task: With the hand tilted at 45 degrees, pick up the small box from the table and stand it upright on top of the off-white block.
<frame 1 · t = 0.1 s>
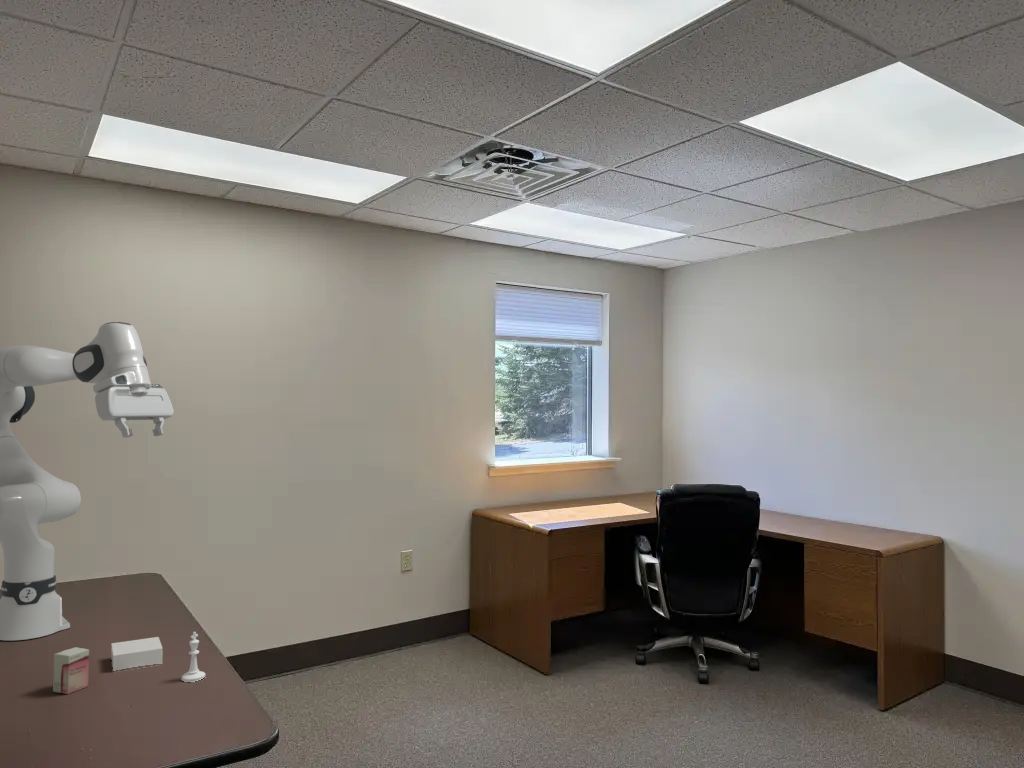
hand: (143, 436, 182), 52 cm above the table, tool tilted 20°, fingers open, 8 cm apart
small box: (70, 690, 154), on the table
chess piece: (193, 679, 161), on the table
off-white block: (136, 663, 171), on the table
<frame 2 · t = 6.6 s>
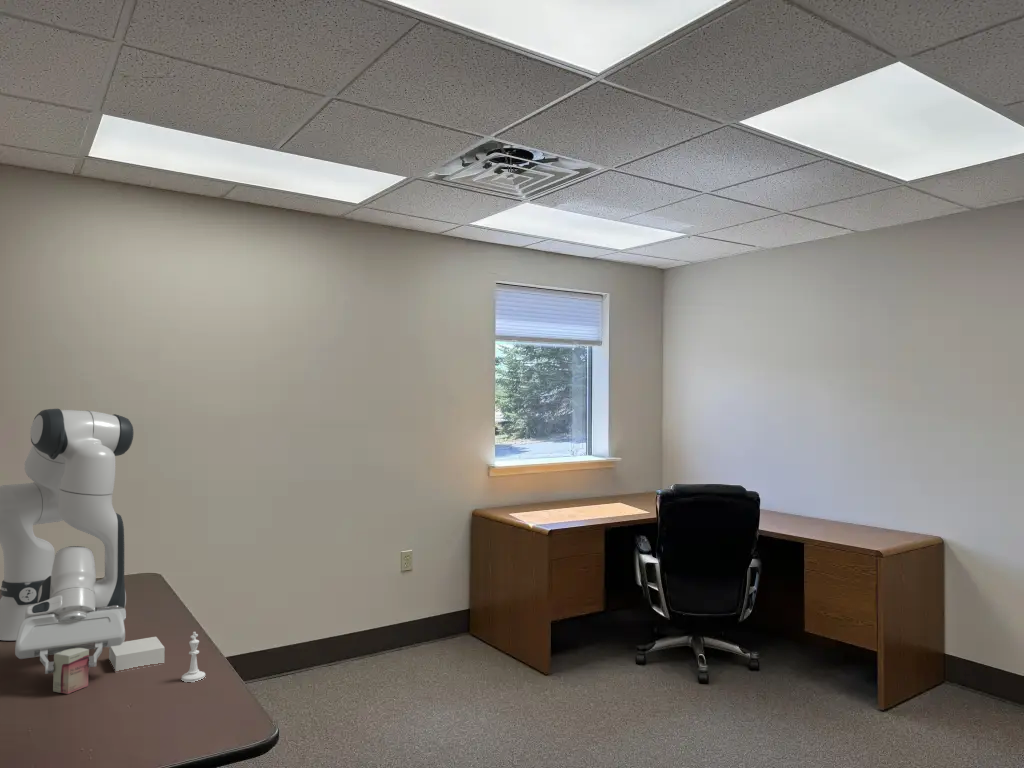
hand: (71, 668, 154), 4 cm above the table, tool tilted 45°, fingers closed on small box, 6 cm apart
small box: (70, 690, 154), on the table, touching gripper
everything else where it was.
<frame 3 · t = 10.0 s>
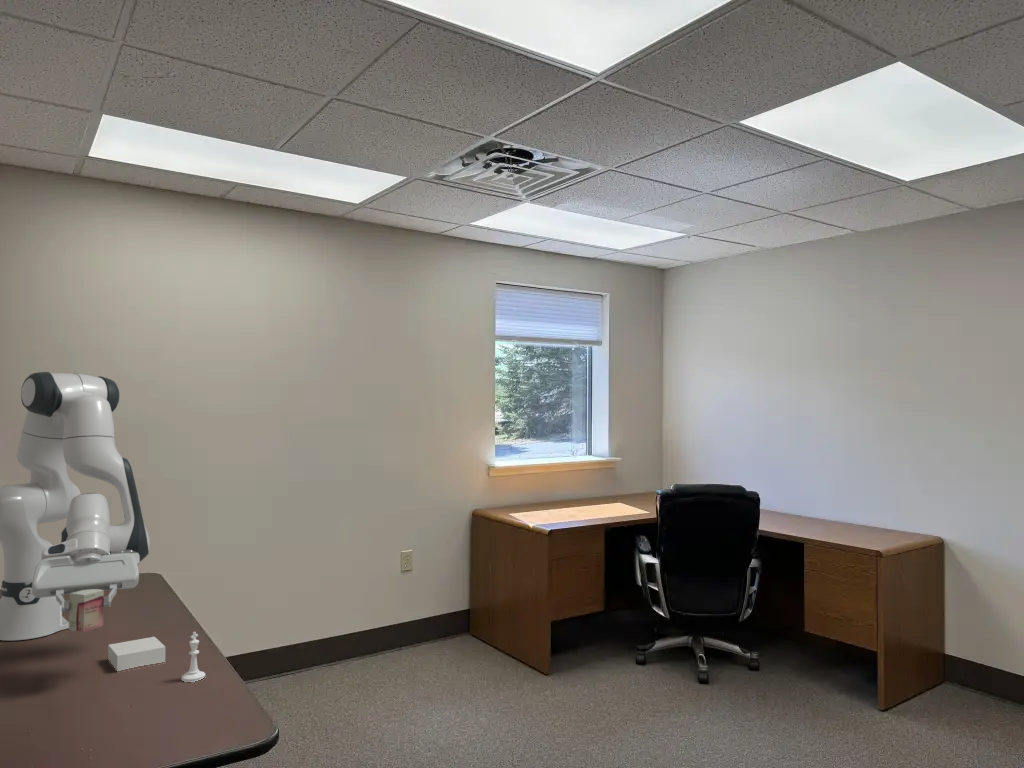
hand: (86, 607, 157), 16 cm above the table, tool tilted 45°, fingers closed on small box, 6 cm apart
small box: (86, 629, 157), point 12 cm above the table, touching gripper
everything else where it was.
when the fingers open (10 cm above the table, at t = 13.5 s): small box drops 2 cm, resting on off-white block.
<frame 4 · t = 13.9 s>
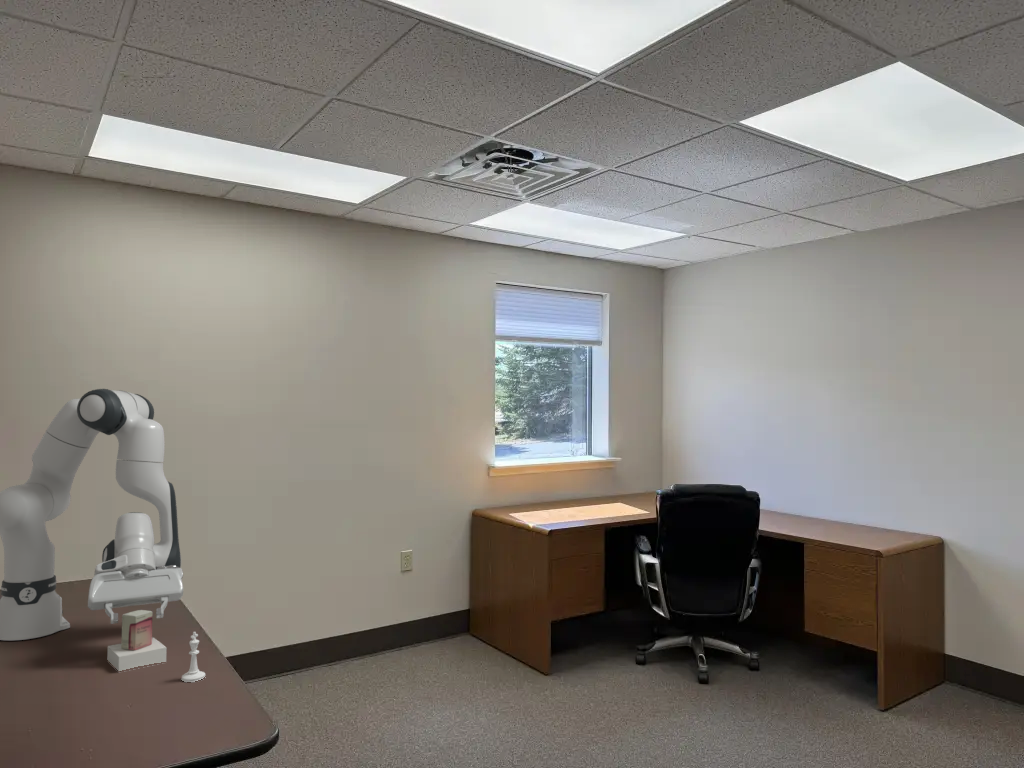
hand: (137, 619, 171), 10 cm above the table, tool tilted 45°, fingers open, 8 cm apart
small box: (136, 647, 171), point 3 cm above the table, touching off-white block
off-white block: (136, 664, 171), on the table, touching small box
everything else where it was.
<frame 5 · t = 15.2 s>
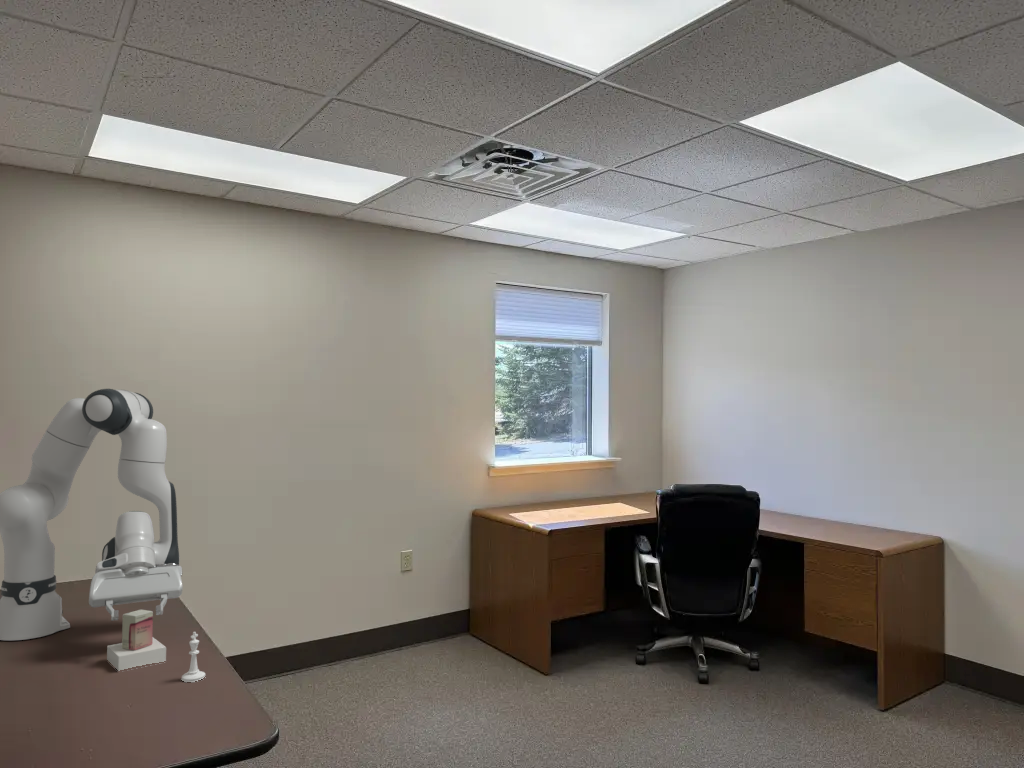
hand: (137, 616, 174), 10 cm above the table, tool tilted 45°, fingers open, 8 cm apart
nothing on the table moved.
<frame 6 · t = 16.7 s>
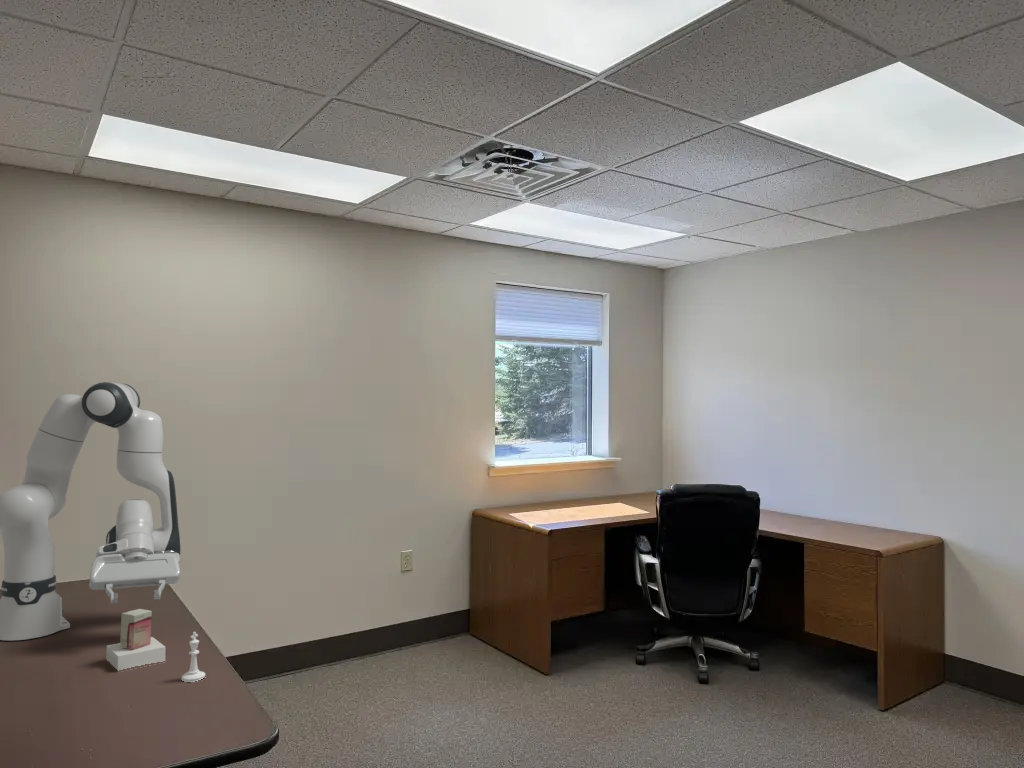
hand: (136, 599, 180), 12 cm above the table, tool tilted 45°, fingers open, 8 cm apart
nothing on the table moved.
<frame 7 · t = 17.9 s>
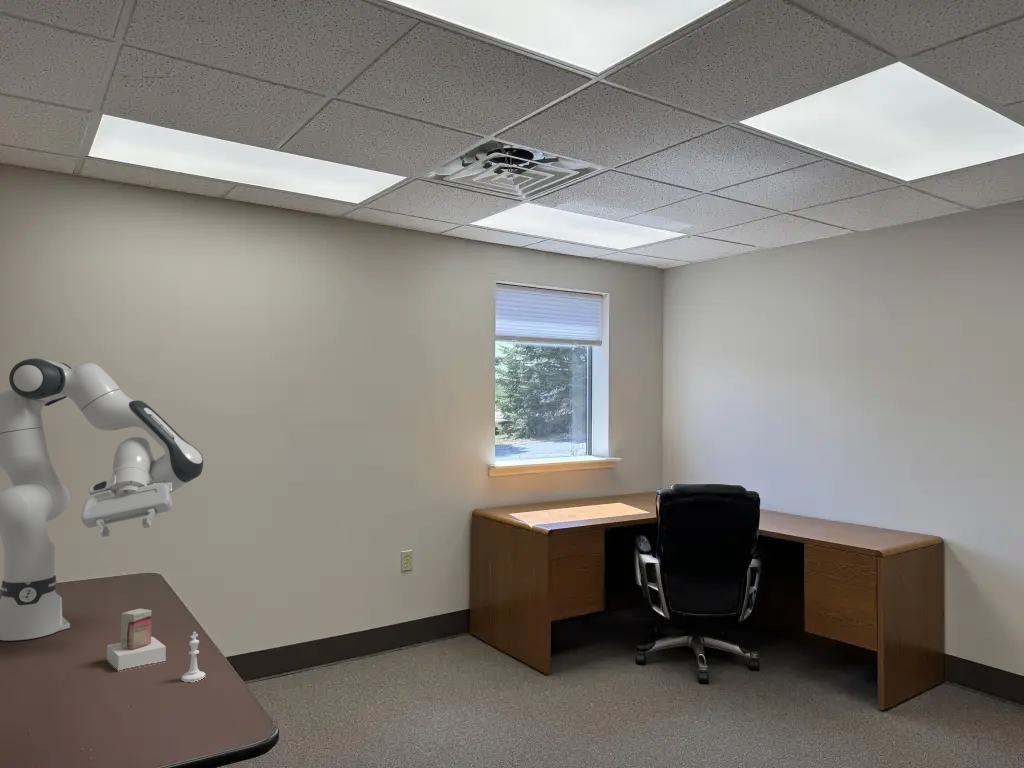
hand: (125, 530, 178), 29 cm above the table, tool tilted 50°, fingers open, 8 cm apart
small box: (135, 646, 171), point 3 cm above the table
off-white block: (136, 663, 171), on the table
everything else where it was.
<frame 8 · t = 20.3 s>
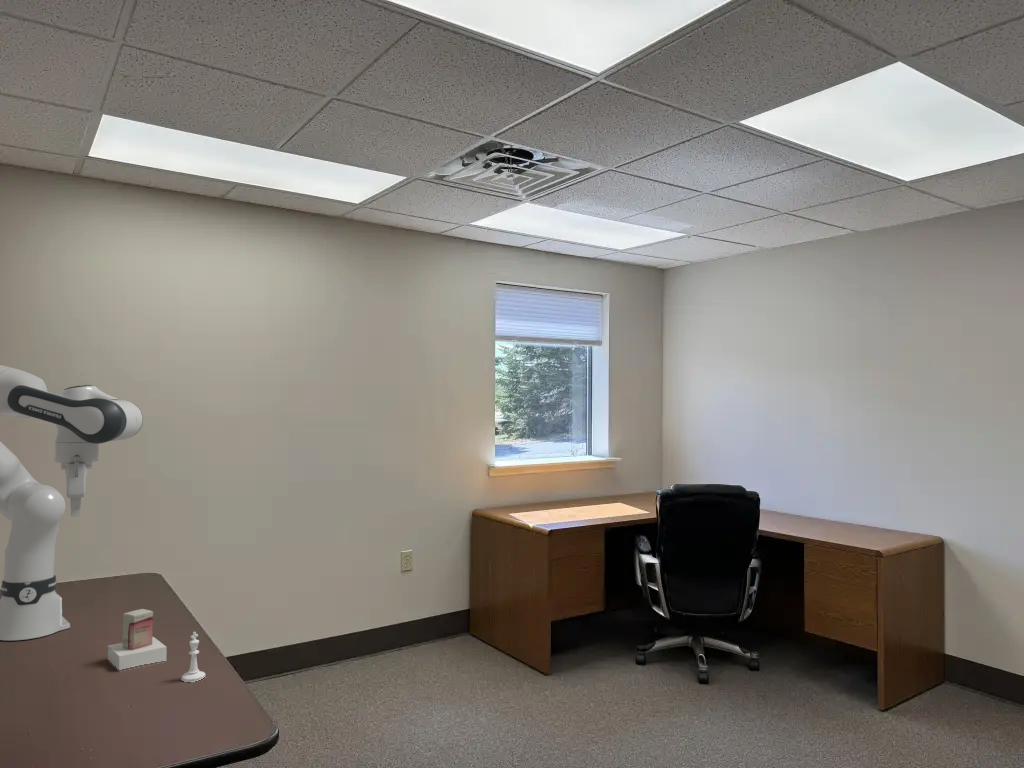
hand: (75, 513, 173), 34 cm above the table, tool pointing down, fingers open, 8 cm apart
small box: (137, 646, 172), point 3 cm above the table, touching off-white block
off-white block: (136, 663, 172), on the table, touching small box
everything else where it was.
at the end: small box inside the target area on the off-white block (0.2 cm from its centre), point 3.8 cm above the off-white block's base; small box tilted 0°; the gripper is holding nothing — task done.
